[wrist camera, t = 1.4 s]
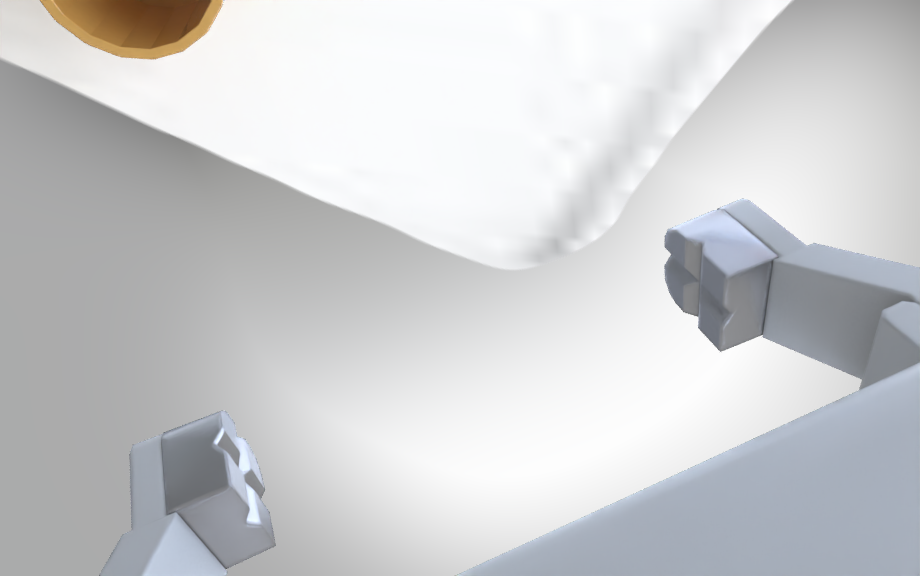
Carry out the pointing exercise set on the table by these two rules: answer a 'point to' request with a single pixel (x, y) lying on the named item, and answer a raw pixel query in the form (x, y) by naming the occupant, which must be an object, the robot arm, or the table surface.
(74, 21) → the ochre crock
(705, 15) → the table surface
